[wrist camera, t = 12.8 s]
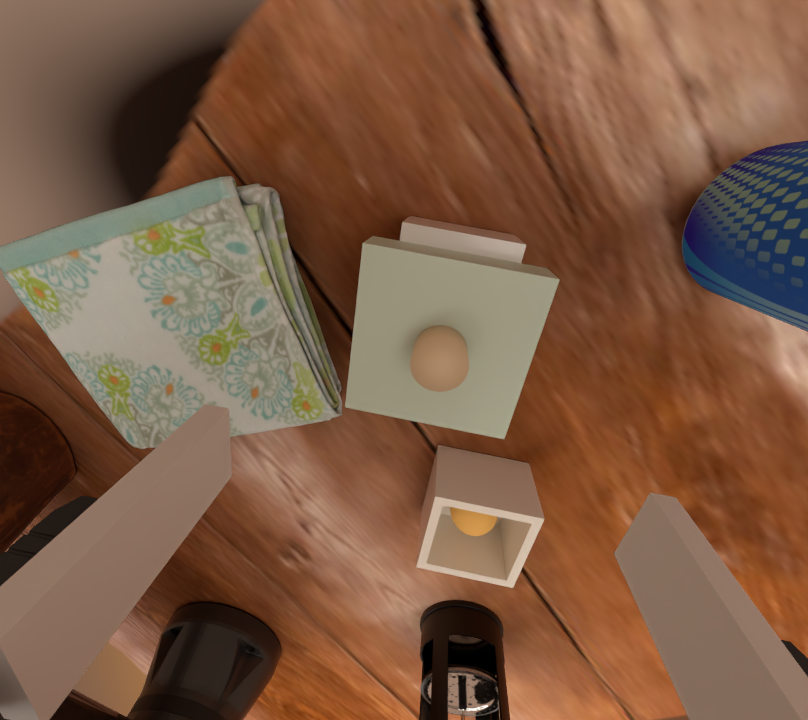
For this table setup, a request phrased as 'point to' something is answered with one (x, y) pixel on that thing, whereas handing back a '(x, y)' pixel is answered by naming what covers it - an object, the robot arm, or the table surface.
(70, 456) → the brown tapered bucket
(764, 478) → the table surface
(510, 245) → the block
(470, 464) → the open white box
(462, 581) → the table surface
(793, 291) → the beer can
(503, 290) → the lid
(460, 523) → the orange
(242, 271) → the towel
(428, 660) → the french press
